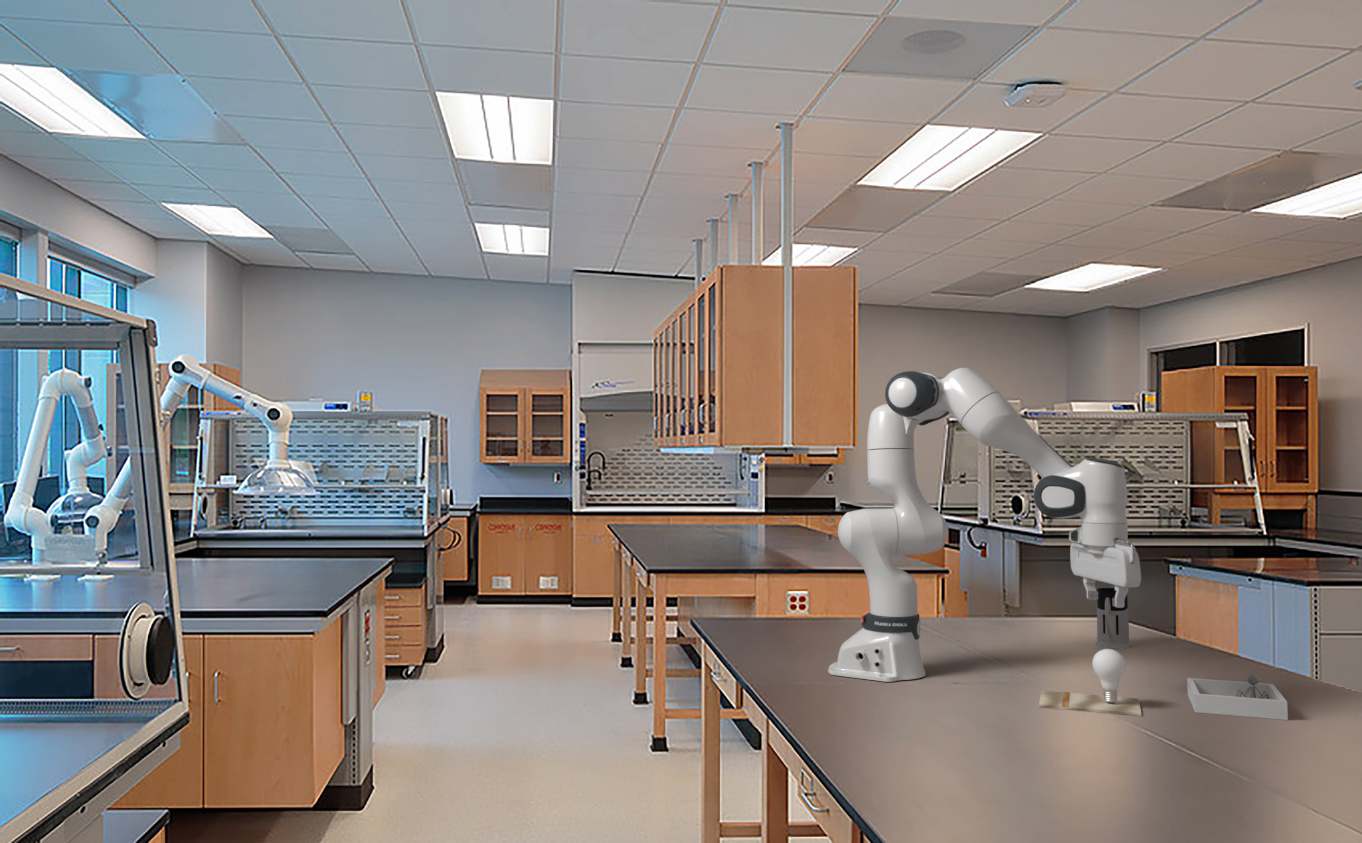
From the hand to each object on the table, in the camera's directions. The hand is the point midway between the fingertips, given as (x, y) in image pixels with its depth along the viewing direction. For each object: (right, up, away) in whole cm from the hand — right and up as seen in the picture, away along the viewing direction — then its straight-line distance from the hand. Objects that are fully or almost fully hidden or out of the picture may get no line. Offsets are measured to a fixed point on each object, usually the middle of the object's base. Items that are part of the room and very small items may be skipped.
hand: (1105, 603), depth 204 cm
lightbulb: (0, -20, -2) cm, 20 cm away
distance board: (-3, -21, 0) cm, 21 cm away
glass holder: (+28, -23, +60) cm, 70 cm away
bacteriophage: (+29, -21, -2) cm, 36 cm away
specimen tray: (+25, -21, -3) cm, 33 cm away
